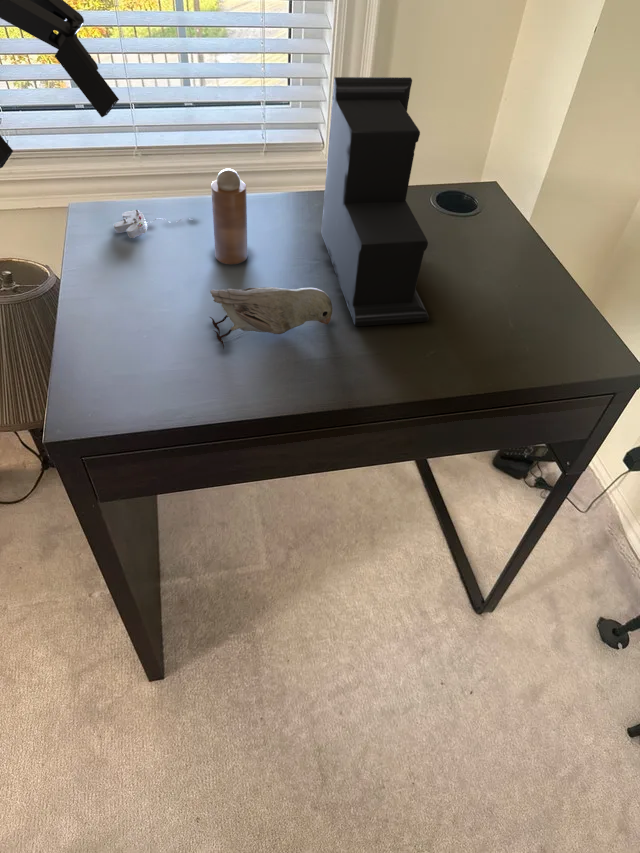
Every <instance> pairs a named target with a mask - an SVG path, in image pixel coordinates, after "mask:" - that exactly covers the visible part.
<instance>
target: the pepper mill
mask: <svg viewBox="0 0 640 853" xmlns="http://www.w3.org/2000/svg"><path fill="white" fill-rule="evenodd" d="M210 188H211V189H210V190H211V191H210V192H211V207H212V209H211V210H212V225H213V240H214V241H213V243H214V256H215V259H216V260H217V261H218V262H219V263H221V264H224V265H238V264H241V263H244V262H245V261H246V260H247V259H248V253H249V252H248V206H247V201H248V200H247V198H248V197H247V196H248V195H247V184H246V182H245V181H243V180H241V177H240V175H239V173H238V172H237V171H235V170H234V169H232V168H224V169H222V170H221V171H220V172H219V173H218V174H217V176H216V179H215V180H213V181H212V183H211V184H210Z"/></svg>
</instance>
